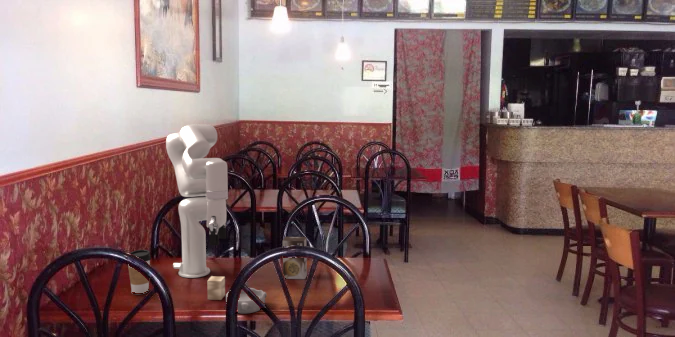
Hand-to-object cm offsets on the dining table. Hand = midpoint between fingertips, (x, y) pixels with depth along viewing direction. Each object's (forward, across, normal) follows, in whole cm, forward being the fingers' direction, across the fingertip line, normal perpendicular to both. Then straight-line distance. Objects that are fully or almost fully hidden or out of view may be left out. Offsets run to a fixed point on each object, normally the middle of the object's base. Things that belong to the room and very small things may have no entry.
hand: (218, 241), depth 198 cm
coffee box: (+21, -25, +25) cm, 41 cm away
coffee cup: (+21, -3, -31) cm, 37 cm away
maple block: (+21, 0, -1) cm, 21 cm away
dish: (+21, +9, +12) cm, 26 cm away
